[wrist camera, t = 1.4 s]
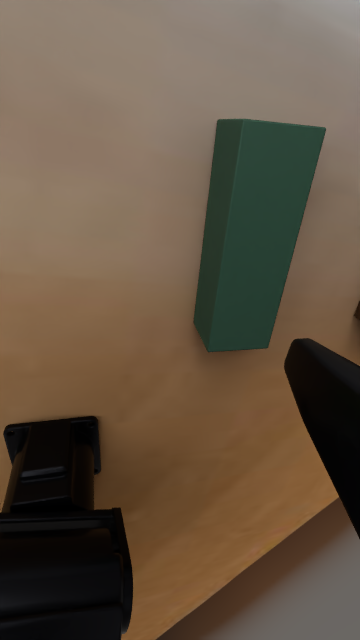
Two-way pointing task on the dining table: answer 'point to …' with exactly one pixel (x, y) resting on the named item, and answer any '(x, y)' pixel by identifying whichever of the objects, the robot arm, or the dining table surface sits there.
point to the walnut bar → (357, 312)
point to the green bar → (252, 228)
